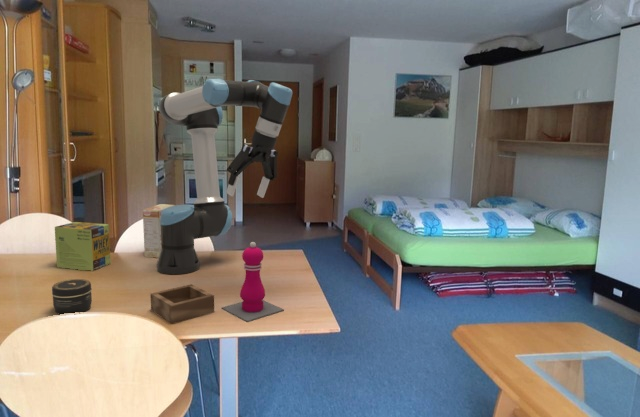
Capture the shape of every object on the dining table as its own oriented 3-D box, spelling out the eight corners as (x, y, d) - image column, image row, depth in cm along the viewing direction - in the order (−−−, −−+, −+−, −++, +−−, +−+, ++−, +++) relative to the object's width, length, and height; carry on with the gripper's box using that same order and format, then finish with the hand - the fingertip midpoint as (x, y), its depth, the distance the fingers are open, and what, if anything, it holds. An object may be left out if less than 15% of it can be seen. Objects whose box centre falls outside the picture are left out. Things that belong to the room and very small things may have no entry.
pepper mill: (269, 305, 144) (269, 240, 141) (258, 314, 137) (258, 246, 134) (247, 302, 146) (247, 238, 143) (235, 310, 139) (235, 243, 136)
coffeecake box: (161, 248, 209) (159, 203, 206) (176, 249, 208) (175, 204, 205) (143, 257, 194) (141, 209, 191) (160, 258, 193) (158, 210, 190)
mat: (221, 308, 142) (221, 307, 142) (257, 298, 151) (257, 297, 151) (247, 322, 133) (247, 320, 133) (283, 310, 142) (284, 309, 141)
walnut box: (151, 310, 139) (150, 293, 139) (191, 299, 148) (191, 284, 148) (172, 323, 130) (171, 306, 129) (214, 312, 139) (214, 295, 138)
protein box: (93, 271, 174) (91, 229, 172) (56, 268, 177) (53, 226, 175) (111, 263, 184) (109, 223, 182) (76, 260, 187) (73, 221, 185)
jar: (65, 302, 144) (64, 278, 142) (99, 303, 143) (97, 279, 142) (45, 315, 134) (43, 289, 132) (81, 316, 133) (79, 290, 132)
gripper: (245, 131, 139) (223, 199, 144) (300, 142, 159) (279, 201, 164) (228, 123, 143) (208, 188, 148) (284, 134, 163) (264, 192, 168)
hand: (245, 195), depth 156 cm, fingers open, 13 cm apart
